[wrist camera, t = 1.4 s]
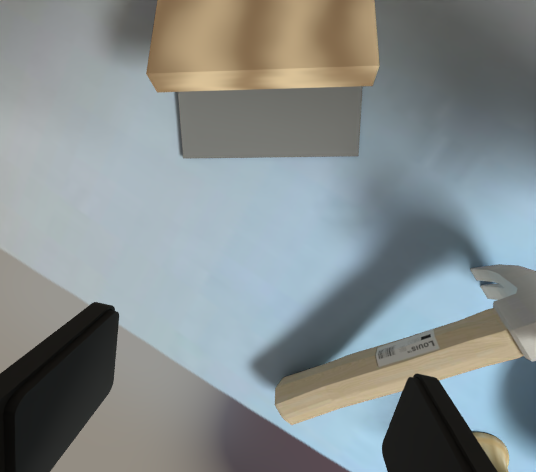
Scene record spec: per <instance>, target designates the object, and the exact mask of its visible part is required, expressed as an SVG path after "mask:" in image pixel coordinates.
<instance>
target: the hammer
mask: <svg viewBox="0 0 536 472" xmlns="http://www.w3.org/2000/svg"><path fill="white" fill-rule="evenodd" d="M470 270H471V272H472V274H473V275H474V277H475V279H476V280H477V281H489V282H495V283H496V284H487V285H481V286H480V287H481V288H482V290H483V292H484V293H485V295H486V297H487V298H488V299H495V300H497V301H494V303H493V308H492V309H488V310H485V311H482V312H480V313H477V314H475V315H472V316H470V317H467V318H465V319H462V320H460V321H457V322H453V323H450V324H447V325H444V326H441V327H438V328H435V329H432V330H428V331H425V332H422V333H419V334H416V335H413V336H410V337H407V338H403V339H400V340H397V341H394V342H390V343H387V344H383V345H380V346H377V347H373V348H370V349H367V350H363V351H360V352H356V353H353V354H350V355H347V356H345V357H342V358H339V359H337V360H334V361H332V362H329V363H326V364H323V365H320V366H317V367H314V368H311V369H308V370H305V371H302V372H299V373H296V374H293V375H290V376H287V377H284V378H282V380H281V381H280V383H279V384H278V385H277V387H276V389H275V406H276V408H277V410H278V411H279V413H280V415H281V416H282V417H283V419H284V420H285V421H287V422H288V423H290V424H291V425H293V424H296V423H299V422H302V421H305V420H308V419H311V418H314V417H316V416H319V415H322V414H325V413H328V412H331V411H334V410H337V409H339V408H343V407H346V406H350V405H354V404H357V403H361V402H364V401H368V400H372V399H375V398H379V397H382V396H386V395H390V394H393V393H397V392H400V391H403V389H404V386H405V384H406V381H407V379H408V378H409V377H413V376H414V375H415V374H417V373H418V374H422V375H427V376H431V377H435V378H437V379H438V380H442V379H445V378H448V377H452V376H455V375H458V374H462V373H465V372H468V371H471V370H475V369H478V368H481V367H485V366H489V365H493V364H497V363H501V362H505V361H509V360H513V359H517V358H520V357H522V356H524V357H525V358H526V359H528V360H530V361H532V362H533V361H536V271H534V270H531V269H527V268H524V267H521V266H515V265H500V264H499V265H492V266H484V267H476V268H471V269H470Z"/></svg>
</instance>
